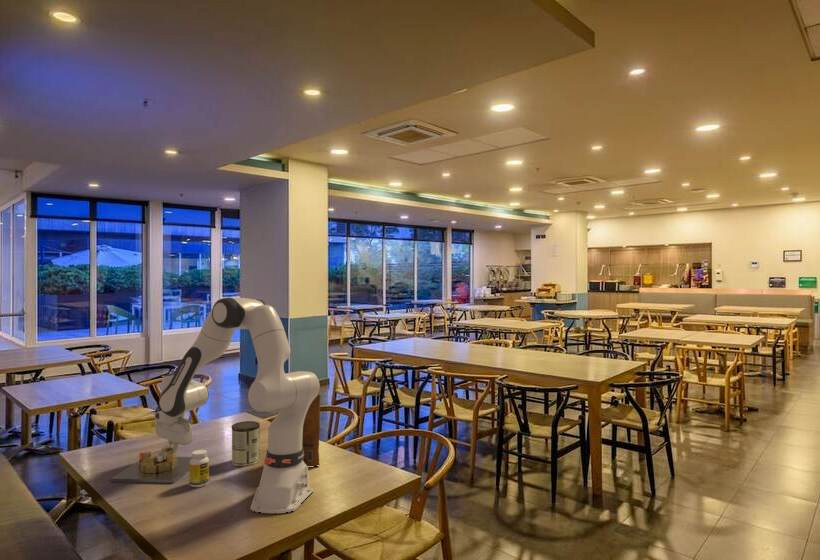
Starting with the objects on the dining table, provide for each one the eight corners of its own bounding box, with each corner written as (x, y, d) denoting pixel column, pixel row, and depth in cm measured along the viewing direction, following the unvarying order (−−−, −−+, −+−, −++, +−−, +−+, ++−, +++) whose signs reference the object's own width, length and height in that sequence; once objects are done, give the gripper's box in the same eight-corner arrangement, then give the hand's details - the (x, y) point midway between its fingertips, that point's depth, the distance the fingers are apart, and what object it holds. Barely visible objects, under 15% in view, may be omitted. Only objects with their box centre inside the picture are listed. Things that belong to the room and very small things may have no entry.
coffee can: (238, 456, 200) (238, 420, 200) (263, 457, 199) (263, 421, 199) (226, 465, 190) (226, 428, 190) (253, 466, 189) (253, 429, 189)
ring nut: (166, 473, 179) (166, 458, 179) (134, 472, 179) (134, 458, 179) (184, 459, 192) (184, 445, 192) (154, 459, 193) (154, 445, 193)
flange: (173, 483, 173) (173, 464, 173) (110, 482, 174) (110, 463, 174) (202, 460, 195) (202, 443, 195) (146, 459, 196) (146, 442, 196)
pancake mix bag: (314, 471, 185) (314, 394, 185) (277, 461, 195) (277, 388, 195) (326, 465, 191) (327, 391, 190) (290, 456, 201) (290, 385, 201)
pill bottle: (201, 488, 169) (202, 455, 169) (185, 487, 171) (185, 454, 170) (212, 481, 175) (212, 449, 175) (196, 479, 177) (196, 448, 177)
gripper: (197, 418, 188) (197, 455, 188) (168, 409, 200) (167, 444, 200) (180, 421, 183) (180, 460, 183) (152, 412, 195) (151, 448, 195)
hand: (173, 451), depth 191 cm, fingers closed
